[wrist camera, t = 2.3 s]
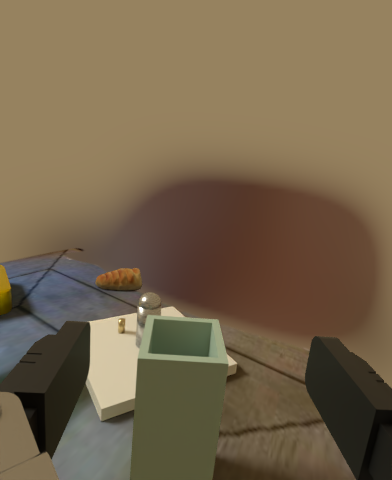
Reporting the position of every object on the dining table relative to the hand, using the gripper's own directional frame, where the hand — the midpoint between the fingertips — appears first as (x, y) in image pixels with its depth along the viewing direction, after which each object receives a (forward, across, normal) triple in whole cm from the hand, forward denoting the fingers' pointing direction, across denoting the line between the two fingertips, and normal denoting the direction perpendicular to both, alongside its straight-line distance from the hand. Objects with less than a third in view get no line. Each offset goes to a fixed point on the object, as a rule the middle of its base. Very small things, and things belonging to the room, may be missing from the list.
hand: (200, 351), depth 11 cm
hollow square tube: (+11, 0, +20) cm, 23 cm away
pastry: (+54, +12, +20) cm, 59 cm away
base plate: (+30, +4, +20) cm, 36 cm away
